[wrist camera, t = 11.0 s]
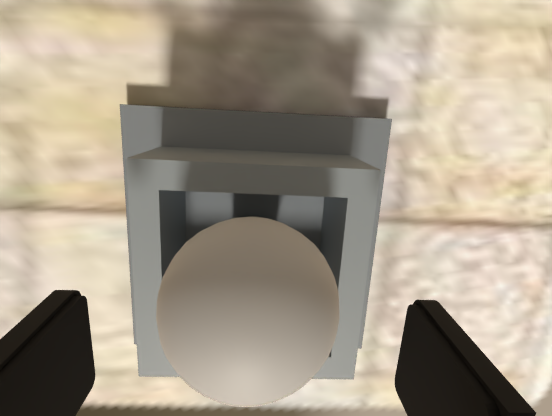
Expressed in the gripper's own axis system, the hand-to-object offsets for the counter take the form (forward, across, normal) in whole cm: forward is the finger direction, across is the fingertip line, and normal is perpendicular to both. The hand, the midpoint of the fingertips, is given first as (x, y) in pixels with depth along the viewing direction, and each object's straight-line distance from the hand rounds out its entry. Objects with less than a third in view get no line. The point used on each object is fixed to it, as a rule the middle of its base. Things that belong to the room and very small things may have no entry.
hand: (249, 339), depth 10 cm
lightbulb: (+10, 0, 0) cm, 10 cm away
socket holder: (+11, 0, +1) cm, 11 cm away
